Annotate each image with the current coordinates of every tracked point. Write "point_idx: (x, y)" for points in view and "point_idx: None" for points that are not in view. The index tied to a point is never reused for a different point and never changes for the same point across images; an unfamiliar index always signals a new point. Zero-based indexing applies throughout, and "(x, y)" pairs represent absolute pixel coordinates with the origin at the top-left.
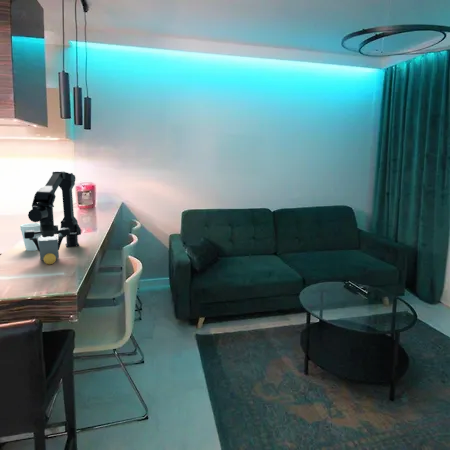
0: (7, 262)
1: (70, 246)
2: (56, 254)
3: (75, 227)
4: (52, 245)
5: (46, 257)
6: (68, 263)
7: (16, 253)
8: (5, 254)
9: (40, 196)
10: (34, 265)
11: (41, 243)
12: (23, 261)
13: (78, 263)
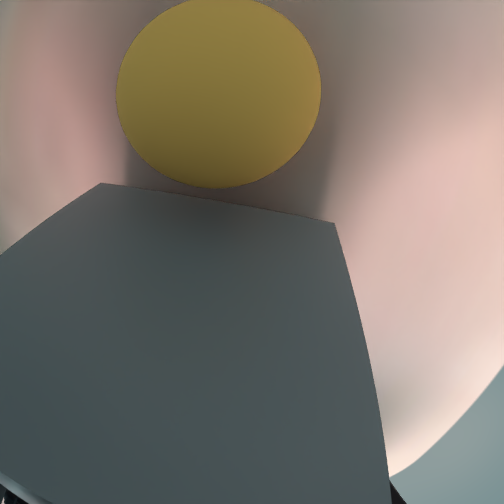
0: (493, 363)
1: None
2: (97, 204)
3: (11, 501)
4: (41, 323)
5: (281, 24)
6: (57, 33)
7: None
8: (404, 467)
9: None
10: (412, 150)
11: (315, 476)
12: (424, 344)
13: (2, 13)
